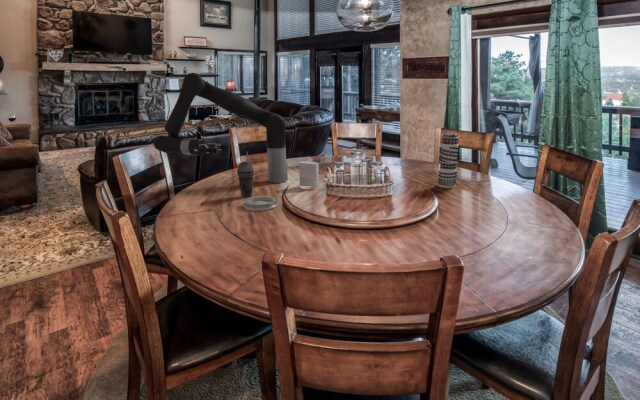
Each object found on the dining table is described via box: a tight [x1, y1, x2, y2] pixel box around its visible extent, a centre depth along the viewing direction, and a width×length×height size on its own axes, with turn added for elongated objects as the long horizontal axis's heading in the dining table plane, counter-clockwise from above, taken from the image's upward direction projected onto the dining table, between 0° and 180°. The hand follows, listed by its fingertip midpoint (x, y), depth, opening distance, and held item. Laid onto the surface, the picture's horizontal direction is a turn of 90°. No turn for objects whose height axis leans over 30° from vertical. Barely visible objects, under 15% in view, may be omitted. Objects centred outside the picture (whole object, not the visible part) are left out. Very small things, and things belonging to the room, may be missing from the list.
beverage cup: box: [236, 151, 255, 199], centre depth 192 cm, size 7×7×20 cm
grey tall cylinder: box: [437, 132, 461, 189], centre depth 207 cm, size 9×9×25 cm
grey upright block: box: [298, 161, 319, 186], centre depth 208 cm, size 9×9×12 cm
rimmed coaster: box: [242, 195, 279, 212], centre depth 180 cm, size 14×14×2 cm
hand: (222, 149), depth 193 cm, fingers open, 8 cm apart
